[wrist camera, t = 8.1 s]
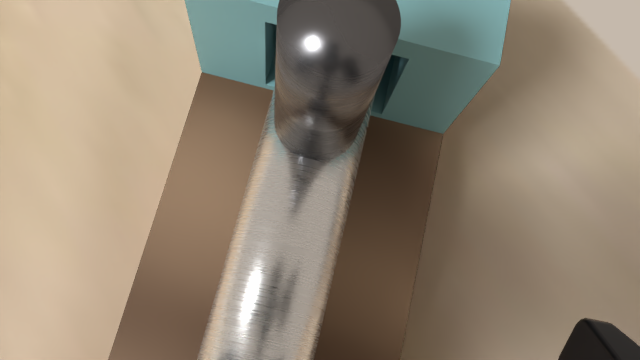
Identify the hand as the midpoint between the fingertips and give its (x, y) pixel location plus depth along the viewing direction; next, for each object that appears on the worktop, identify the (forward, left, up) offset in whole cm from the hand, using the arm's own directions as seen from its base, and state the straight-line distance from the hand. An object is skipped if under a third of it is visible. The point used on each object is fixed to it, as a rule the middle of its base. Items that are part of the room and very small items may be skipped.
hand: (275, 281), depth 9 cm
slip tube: (+2, 0, -8) cm, 8 cm away
